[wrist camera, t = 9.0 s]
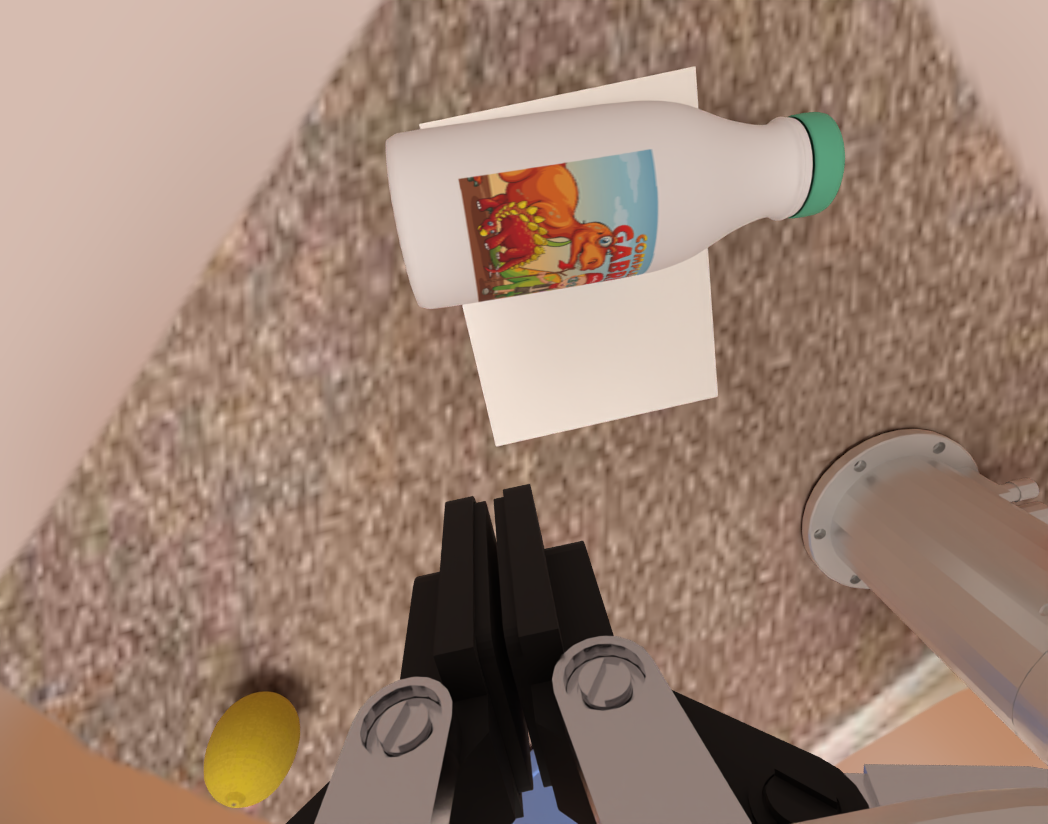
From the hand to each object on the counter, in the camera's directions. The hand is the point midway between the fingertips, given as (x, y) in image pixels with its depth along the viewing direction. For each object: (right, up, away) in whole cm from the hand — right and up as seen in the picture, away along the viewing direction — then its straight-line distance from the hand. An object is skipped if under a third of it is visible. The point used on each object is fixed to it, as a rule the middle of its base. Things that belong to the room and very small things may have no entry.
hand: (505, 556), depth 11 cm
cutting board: (+4, +11, +22) cm, 25 cm away
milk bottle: (-5, +11, +15) cm, 20 cm away
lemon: (-18, -18, +31) cm, 40 cm away
